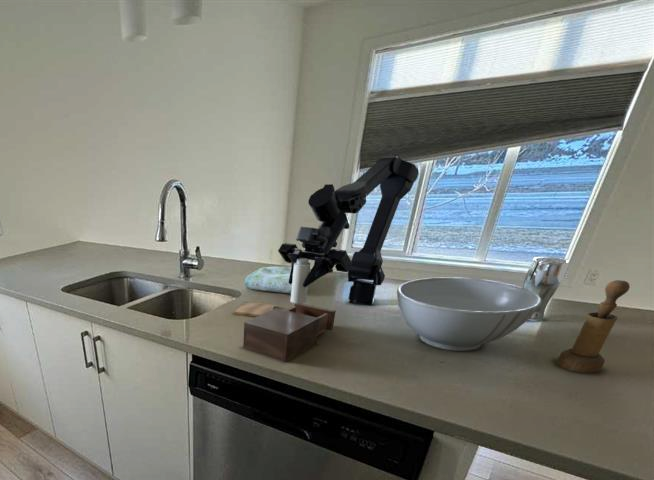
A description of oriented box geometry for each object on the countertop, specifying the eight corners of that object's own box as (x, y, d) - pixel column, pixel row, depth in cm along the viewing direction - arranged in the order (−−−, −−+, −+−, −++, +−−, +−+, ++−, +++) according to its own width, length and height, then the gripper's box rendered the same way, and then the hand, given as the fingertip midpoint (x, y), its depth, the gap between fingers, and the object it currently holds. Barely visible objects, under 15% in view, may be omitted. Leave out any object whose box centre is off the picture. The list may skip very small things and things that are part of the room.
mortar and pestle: (547, 360, 87) (585, 278, 78) (576, 357, 87) (617, 274, 78) (579, 375, 81) (624, 287, 72) (609, 371, 81) (658, 283, 72)
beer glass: (537, 312, 109) (561, 256, 101) (550, 322, 103) (576, 263, 96) (506, 312, 111) (527, 256, 104) (517, 321, 105) (540, 263, 98)
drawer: (297, 319, 117) (299, 301, 114) (335, 328, 109) (338, 309, 106) (269, 333, 110) (270, 314, 107) (307, 344, 102) (309, 324, 99)
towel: (308, 279, 153) (310, 266, 150) (294, 296, 137) (296, 281, 135) (261, 276, 162) (262, 263, 159) (243, 291, 146) (243, 277, 144)
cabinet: (274, 332, 112) (276, 307, 109) (315, 344, 103) (319, 318, 100) (243, 347, 105) (244, 322, 102) (285, 361, 96) (287, 334, 93)
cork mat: (275, 307, 129) (275, 305, 129) (265, 317, 122) (265, 315, 122) (245, 304, 134) (245, 301, 134) (234, 313, 127) (234, 311, 127)
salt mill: (308, 299, 108) (313, 258, 102) (303, 304, 105) (308, 261, 100) (293, 298, 110) (297, 257, 104) (288, 302, 107) (292, 260, 102)
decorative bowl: (538, 371, 83) (563, 316, 77) (390, 357, 94) (402, 307, 88) (502, 325, 104) (520, 278, 98) (384, 317, 115) (393, 275, 109)
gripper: (285, 211, 106) (254, 262, 106) (353, 214, 92) (318, 273, 92) (301, 237, 113) (272, 284, 113) (365, 244, 99) (333, 298, 100)
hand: (296, 284), depth 104 cm, fingers closed on salt mill, 4 cm apart
